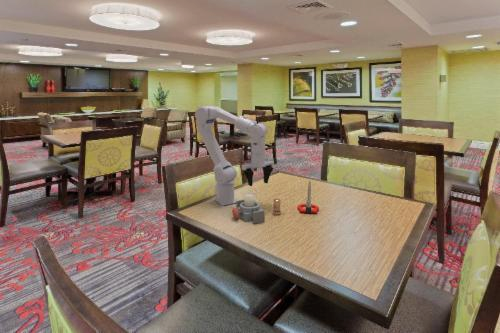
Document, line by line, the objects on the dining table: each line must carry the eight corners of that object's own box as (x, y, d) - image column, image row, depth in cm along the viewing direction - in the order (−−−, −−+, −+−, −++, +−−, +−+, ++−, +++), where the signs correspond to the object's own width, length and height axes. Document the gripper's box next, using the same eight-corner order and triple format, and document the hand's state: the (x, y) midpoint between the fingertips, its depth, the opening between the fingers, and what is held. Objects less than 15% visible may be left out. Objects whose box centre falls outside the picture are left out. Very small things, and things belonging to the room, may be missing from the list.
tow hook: (297, 205, 143) (297, 213, 133) (298, 175, 140) (298, 180, 131) (318, 207, 142) (319, 214, 132) (319, 176, 139) (321, 181, 129)
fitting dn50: (242, 207, 131) (241, 193, 130) (253, 205, 133) (252, 192, 132) (246, 211, 127) (245, 197, 126) (257, 209, 129) (257, 195, 127)
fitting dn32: (271, 212, 134) (271, 199, 133) (277, 211, 136) (278, 197, 134) (275, 215, 131) (275, 201, 130) (282, 214, 133) (282, 200, 131)
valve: (226, 213, 134) (226, 202, 132) (249, 208, 139) (249, 197, 138) (243, 226, 121) (243, 214, 120) (268, 220, 126) (268, 208, 125)
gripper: (247, 156, 128) (247, 189, 131) (278, 152, 135) (277, 184, 138) (239, 153, 134) (239, 184, 137) (268, 150, 141) (268, 180, 144)
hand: (258, 184), depth 138 cm, fingers open, 7 cm apart
